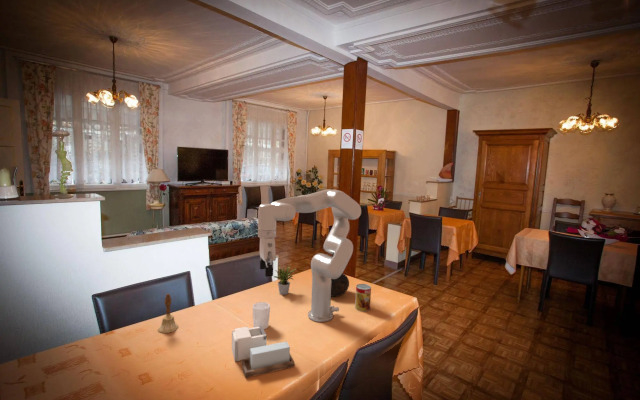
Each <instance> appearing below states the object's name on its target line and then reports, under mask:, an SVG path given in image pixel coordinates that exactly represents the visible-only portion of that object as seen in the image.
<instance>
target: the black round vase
mask: <svg viewBox="0 0 640 400" xmlns="http://www.w3.org/2000/svg"><path fill="white" fill-rule="evenodd" d="M333 256H334V255H333V254H331V257H333ZM349 280H350V279H349V278H348V276H347V275H346V274H345V273H344V272H343V273H342V274H341V276H340V277H339V278H337V279H331V297H338V296H339V297H340V296H342V295H343V294H345V293H346V292H347V291H348V290H349V286H350V281H349Z"/></svg>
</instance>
